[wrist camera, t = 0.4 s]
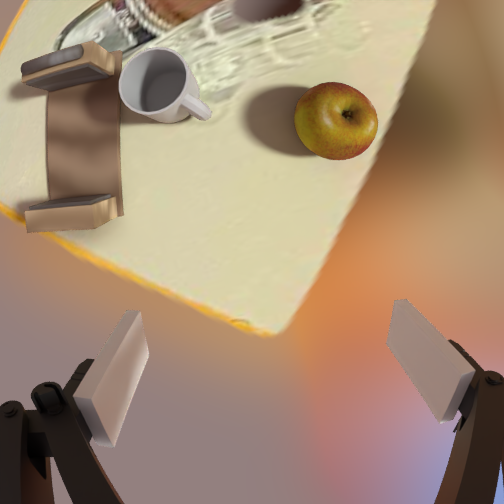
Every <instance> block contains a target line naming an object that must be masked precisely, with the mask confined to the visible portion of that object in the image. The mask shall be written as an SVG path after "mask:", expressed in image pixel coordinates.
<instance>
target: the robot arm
mask: <svg viewBox="0 0 504 504" xmlns="http://www.w3.org/2000/svg"><path fill="white" fill-rule="evenodd" d="M386 344H387V346H388V347H389V349H390V350H391V351H392V353H393V354H394V356H395V357H396V359H397V360H398V362H399V363H400V364H401V366H402V367H403V369H404V370H405V372H406V373H407V375H408V376H409V378H410V379H411V381H412V382H413V384H414V385H415V387H416V388H417V389H418V391H419V393H420V394H421V396H422V397H423V399H424V401H425V402H426V403H427V405H428V407H429V408H430V410H431V411H432V413H433V414H434V416H435V418H436V419H437V421H438V422H439V424H441V423H444V422H447V421H450V420H453V419H454V417H455V415H456V413H457V411H458V410H459V411H460V412H461V414H462V416H461V418H460V419H459V422H458V423H457V425H456V427H455V429H454V431H453V432H455V431H456V430H457V432H456V436H455V440H454V444H453V447H452V451H451V455H450V458H449V461H448V465H447V468H446V471H445V474H444V478H443V481H442V483H441V486H440V489H439V492H438V495H437V497H436V500H435V503H434V504H493V502H494V497H495V492H496V487H497V482H498V476H499V470H500V462H501V464H502V473H503V485H504V378H503V376H502V375H500V374H499V373H497V372H494V371H484V370H483V369H482V368H481V367H480V366H479V365H478V363H476V361H475V360H474V359H473V358H472V357H471V356H469V354H468V353H467V352H465V350H464V349H463V348H462V347H461V346H460V345H459V344H458V343H456V342H454V341H452V340H447V339H446V338H445V337H444V336H443V335H442V334H441V333H440V332H439V331H438V330H437V329H436V328H435V327H434V326H433V325H432V324H431V323H430V322H429V321H428V320H427V319H426V318H425V317H424V316H423V315H422V314H421V313H420V312H419V311H418V310H417V309H416V308H415V307H414V306H413V305H412V304H411V303H410V302H409V301H408V300H407V299H404V300H395V301H394V307H393V312H392V318H391V323H390V328H389V333H388V338H387V343H386ZM148 357H149V352H148V347H147V342H146V338H145V333H144V328H143V324H142V318H141V312H140V311H135V310H126V312H125V313H124V315H123V316H122V318H121V319H120V321H119V322H118V324H117V325H116V327H115V329H114V330H113V332H112V333H111V335H110V336H109V338H108V339H107V341H106V342H105V344H104V346H103V347H102V349H101V350H100V352H99V354H98V355H97V357H96V358H95V359H86V360H85V361H84V362H82V363H81V364H79V366H78V367H77V369H76V370H75V372H74V374H73V375H72V376H71V379H70V380H69V381H68V383H67V384H66V386H65V387H64V389H63V390H62V388H61V386H60V385H59V384H57V383H55V382H45V383H42V384H39V385H38V386H36V387H35V388H34V389H33V391H32V393H31V399H32V401H33V403H34V405H35V407H36V408H37V410H25V409H24V407H23V406H22V404H21V403H20V402H18V401H8V402H5V403H4V404H2V405H1V406H0V504H55V503H54V495H53V487H52V477H51V465H50V457H54V460H55V462H56V465H57V467H58V470H59V473H60V475H61V477H62V480H63V482H64V484H65V487H66V489H67V491H68V493H69V496H70V498H71V500H72V502H73V504H124V502H123V501H122V499H121V498H120V496H119V495H118V493H117V491H116V490H115V488H114V487H113V485H112V483H111V482H110V480H109V478H108V477H107V475H106V473H105V471H104V470H103V468H102V466H101V464H100V462H99V461H98V459H97V457H96V455H95V453H94V451H93V449H92V447H91V446H90V444H89V442H90V440H91V438H92V436H93V438H94V440H95V442H96V444H97V445H101V446H106V447H112V448H114V446H115V443H116V441H117V438H118V435H119V432H120V430H121V427H122V424H123V421H124V419H125V416H126V413H127V411H128V408H129V405H130V403H131V400H132V397H133V395H134V392H135V390H136V387H137V385H138V382H139V379H140V377H141V374H142V372H143V369H144V367H145V364H146V362H147V360H148Z"/></svg>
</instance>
